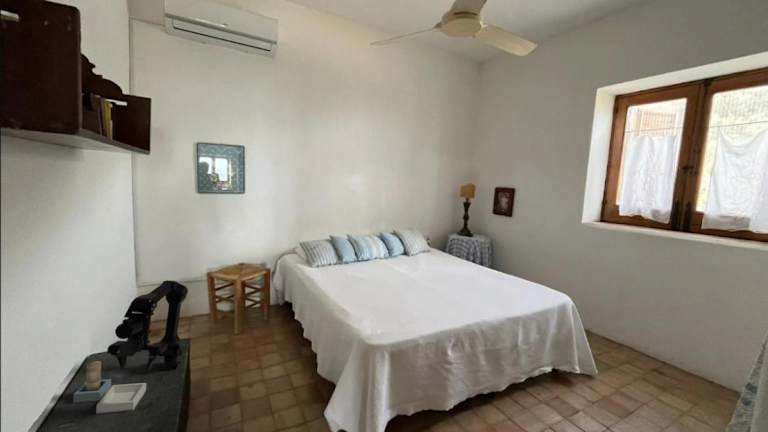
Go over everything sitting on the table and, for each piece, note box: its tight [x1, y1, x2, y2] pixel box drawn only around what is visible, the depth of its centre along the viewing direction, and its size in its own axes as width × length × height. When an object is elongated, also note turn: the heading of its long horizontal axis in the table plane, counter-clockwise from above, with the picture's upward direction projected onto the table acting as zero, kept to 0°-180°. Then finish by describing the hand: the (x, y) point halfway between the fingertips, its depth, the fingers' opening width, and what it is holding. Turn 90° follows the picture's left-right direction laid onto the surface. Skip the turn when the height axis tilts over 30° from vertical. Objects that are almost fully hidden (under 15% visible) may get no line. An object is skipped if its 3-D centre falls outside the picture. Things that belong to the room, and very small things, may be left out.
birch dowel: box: [85, 360, 102, 391], centre depth 125 cm, size 4×4×13 cm
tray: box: [95, 382, 147, 415], centre depth 124 cm, size 12×12×4 cm
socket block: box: [72, 378, 112, 404], centre depth 126 cm, size 8×8×4 cm
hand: (135, 369), depth 122 cm, fingers open, 9 cm apart
